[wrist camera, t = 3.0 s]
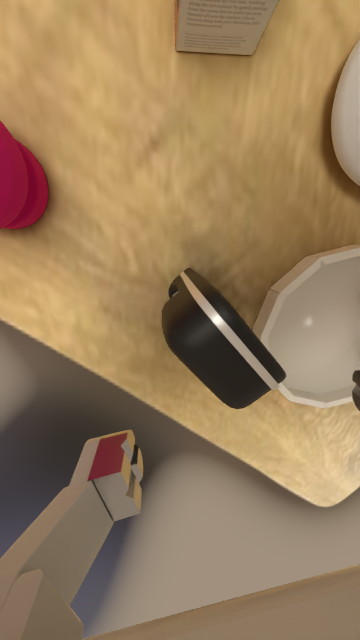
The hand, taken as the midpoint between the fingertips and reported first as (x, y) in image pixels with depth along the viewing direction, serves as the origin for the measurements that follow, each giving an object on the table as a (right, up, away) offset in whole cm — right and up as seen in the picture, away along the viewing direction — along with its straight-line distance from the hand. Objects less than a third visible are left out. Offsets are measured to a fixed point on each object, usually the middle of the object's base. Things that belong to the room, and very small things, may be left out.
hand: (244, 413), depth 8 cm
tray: (+13, +2, +15) cm, 20 cm away
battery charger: (-1, +5, +13) cm, 14 cm away
